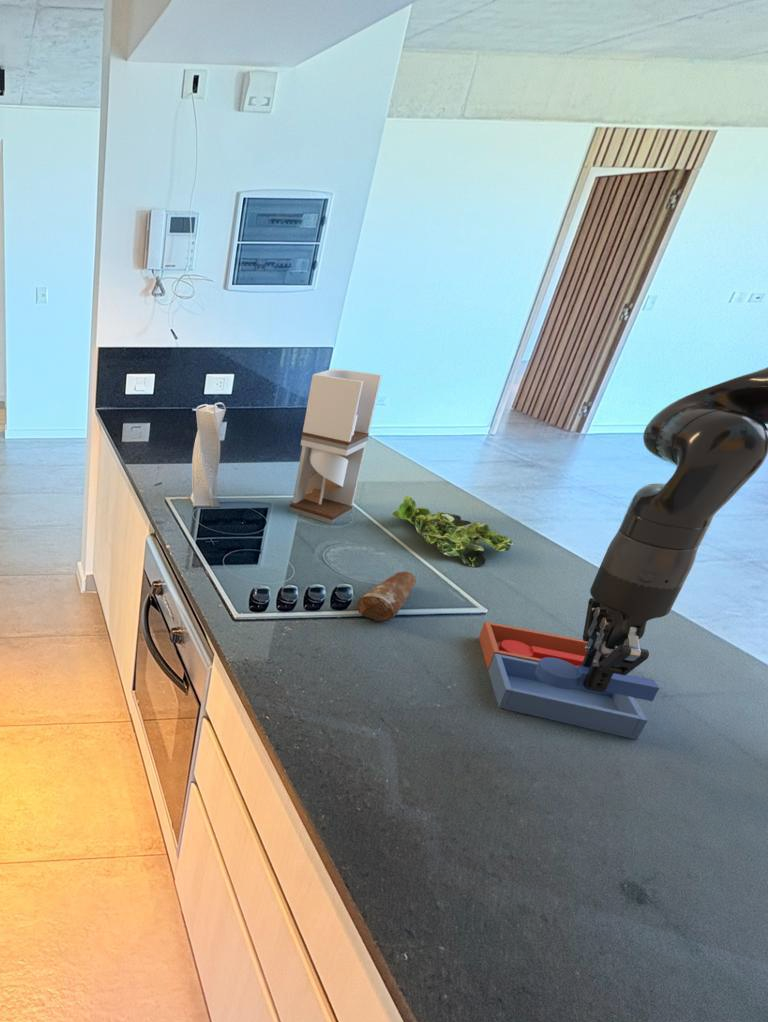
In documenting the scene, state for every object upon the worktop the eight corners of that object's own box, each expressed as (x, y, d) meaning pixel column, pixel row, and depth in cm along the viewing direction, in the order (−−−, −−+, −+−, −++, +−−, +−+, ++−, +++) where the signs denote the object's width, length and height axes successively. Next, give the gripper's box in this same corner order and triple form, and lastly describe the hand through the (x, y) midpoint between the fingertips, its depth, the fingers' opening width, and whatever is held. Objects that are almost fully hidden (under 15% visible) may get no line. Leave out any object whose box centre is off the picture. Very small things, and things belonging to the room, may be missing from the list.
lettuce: (461, 570, 130) (476, 540, 127) (368, 519, 150) (378, 493, 147) (517, 564, 136) (532, 536, 133) (420, 517, 157) (431, 491, 154)
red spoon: (583, 663, 102) (588, 652, 101) (591, 679, 98) (597, 668, 97) (495, 645, 106) (499, 635, 105) (500, 660, 102) (504, 650, 101)
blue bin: (614, 698, 95) (623, 679, 93) (637, 740, 87) (647, 720, 85) (487, 670, 101) (494, 653, 99) (498, 707, 93) (506, 689, 92)
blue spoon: (643, 686, 81) (650, 673, 80) (657, 708, 78) (664, 694, 77) (531, 664, 86) (536, 651, 85) (539, 684, 82) (544, 671, 81)
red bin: (594, 661, 103) (602, 643, 101) (613, 696, 95) (623, 678, 94) (478, 637, 109) (484, 621, 108) (487, 669, 101) (494, 651, 100)
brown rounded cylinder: (352, 617, 116) (358, 592, 113) (391, 581, 127) (397, 557, 125) (387, 631, 111) (394, 605, 109) (424, 592, 123) (431, 568, 120)
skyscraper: (221, 509, 161) (234, 403, 149) (190, 509, 162) (200, 404, 149) (214, 497, 169) (225, 395, 156) (184, 497, 169) (193, 395, 157)
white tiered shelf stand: (288, 510, 160) (312, 374, 144) (309, 500, 166) (334, 368, 150) (331, 524, 152) (361, 381, 137) (351, 512, 158) (382, 374, 143)
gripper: (710, 604, 67) (645, 725, 75) (659, 551, 78) (608, 660, 86) (623, 591, 70) (569, 709, 78) (586, 541, 81) (543, 648, 89)
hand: (590, 683), depth 82 cm, fingers closed on blue spoon, 2 cm apart
